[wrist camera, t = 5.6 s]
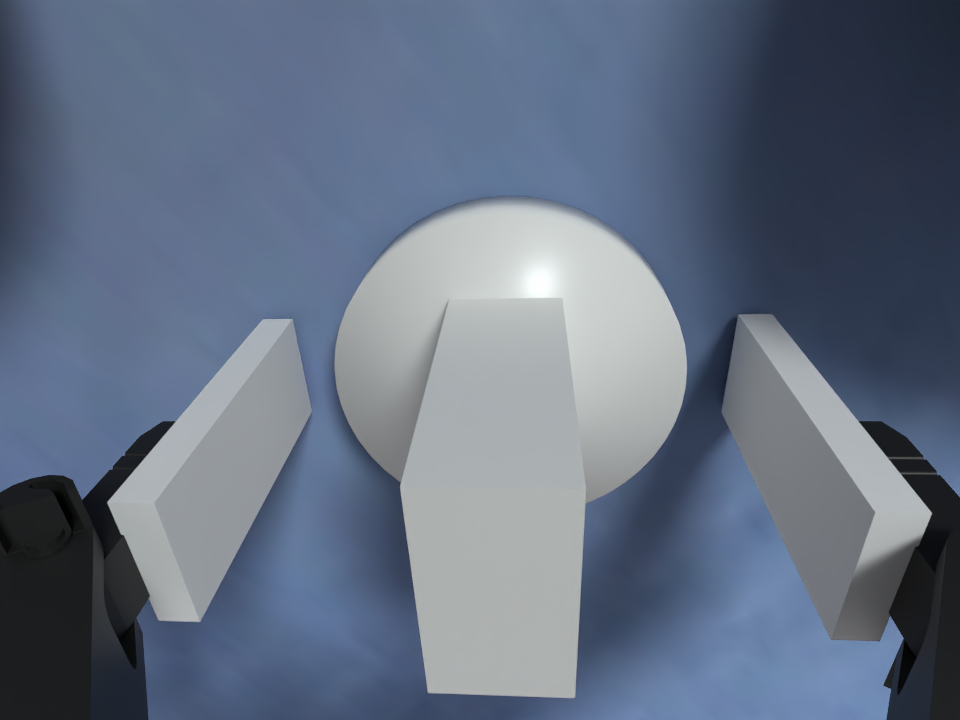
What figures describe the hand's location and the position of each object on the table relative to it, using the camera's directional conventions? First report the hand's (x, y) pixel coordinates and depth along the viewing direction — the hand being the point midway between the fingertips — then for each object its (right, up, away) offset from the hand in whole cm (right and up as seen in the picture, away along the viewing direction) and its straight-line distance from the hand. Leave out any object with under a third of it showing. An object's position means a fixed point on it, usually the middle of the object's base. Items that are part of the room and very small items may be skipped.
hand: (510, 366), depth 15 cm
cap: (0, 0, 0) cm, 0 cm away
